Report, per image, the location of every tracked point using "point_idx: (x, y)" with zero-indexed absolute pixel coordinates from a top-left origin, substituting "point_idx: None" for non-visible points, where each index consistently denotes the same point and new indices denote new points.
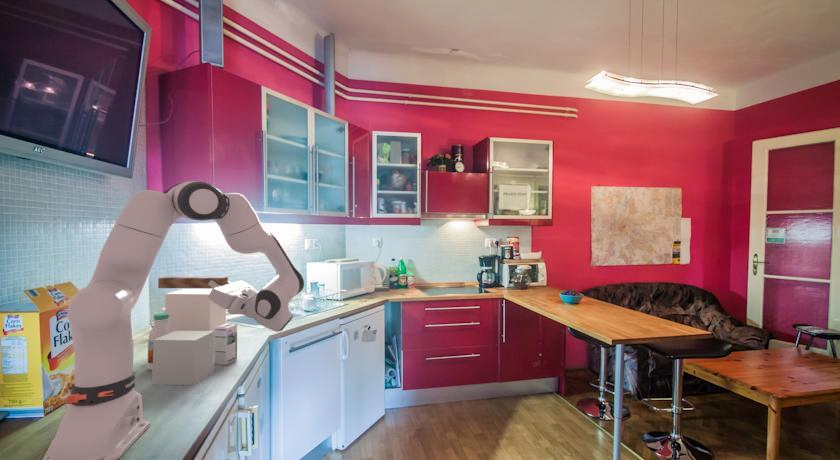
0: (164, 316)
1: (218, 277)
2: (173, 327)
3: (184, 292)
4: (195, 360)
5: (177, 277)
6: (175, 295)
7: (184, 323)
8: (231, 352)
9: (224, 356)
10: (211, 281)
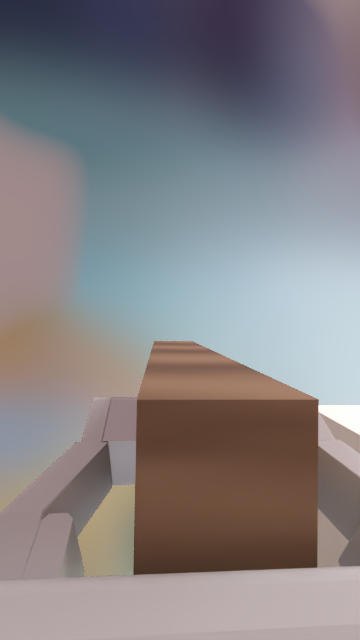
0: None
1: (209, 378)
2: (319, 524)
3: (357, 418)
4: None
5: (176, 345)
6: (323, 419)
7: (341, 535)
8: None
9: None
10: (92, 408)
